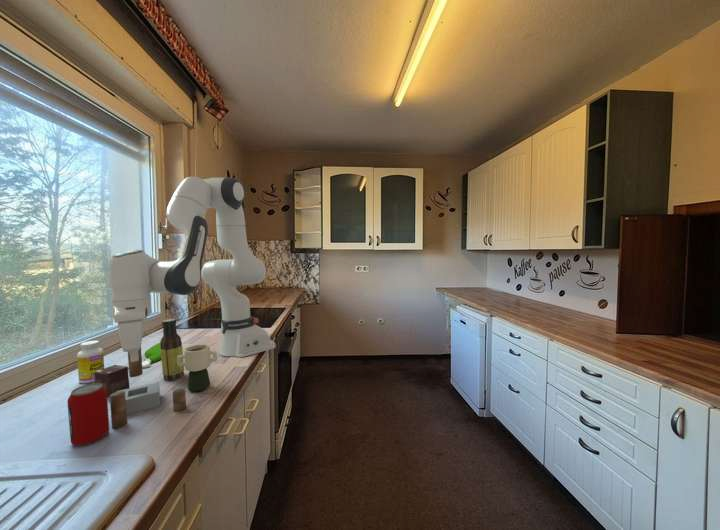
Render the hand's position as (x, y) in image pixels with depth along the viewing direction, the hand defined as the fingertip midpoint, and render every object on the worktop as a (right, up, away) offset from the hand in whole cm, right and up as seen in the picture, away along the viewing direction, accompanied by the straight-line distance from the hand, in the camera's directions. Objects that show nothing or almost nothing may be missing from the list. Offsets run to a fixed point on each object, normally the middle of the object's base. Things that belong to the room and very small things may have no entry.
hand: (135, 358), depth 84 cm
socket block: (0, -13, +1) cm, 14 cm away
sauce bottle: (-1, -13, +19) cm, 23 cm away
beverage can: (0, -15, -14) cm, 20 cm away
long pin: (0, -5, 0) cm, 5 cm away
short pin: (+13, -13, -1) cm, 19 cm away
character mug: (+12, -13, +11) cm, 21 cm away
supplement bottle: (-29, -13, +19) cm, 37 cm away
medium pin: (+2, -14, -8) cm, 17 cm away
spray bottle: (-21, -12, +40) cm, 47 cm away
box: (-14, -14, +10) cm, 22 cm away
